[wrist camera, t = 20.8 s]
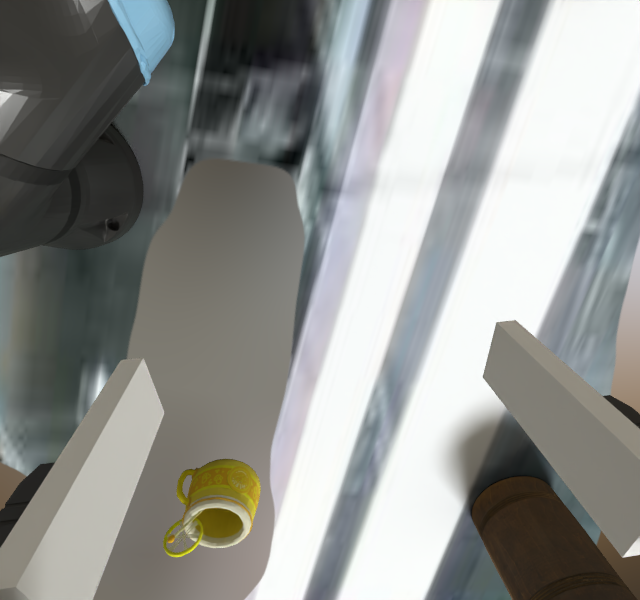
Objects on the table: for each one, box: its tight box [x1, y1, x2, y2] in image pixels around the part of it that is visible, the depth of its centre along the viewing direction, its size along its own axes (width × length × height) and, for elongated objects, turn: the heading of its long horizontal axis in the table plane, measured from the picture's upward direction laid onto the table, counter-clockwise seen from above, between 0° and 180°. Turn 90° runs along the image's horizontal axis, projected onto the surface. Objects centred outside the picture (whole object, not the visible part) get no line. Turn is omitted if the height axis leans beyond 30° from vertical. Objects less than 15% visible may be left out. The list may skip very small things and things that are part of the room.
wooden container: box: [472, 476, 637, 600], centre depth 50 cm, size 15×15×22 cm
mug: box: [163, 459, 260, 557], centre depth 48 cm, size 13×11×12 cm
